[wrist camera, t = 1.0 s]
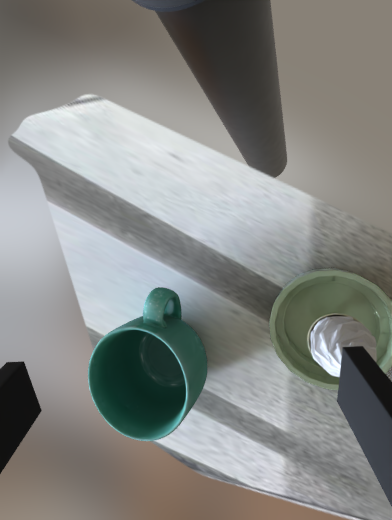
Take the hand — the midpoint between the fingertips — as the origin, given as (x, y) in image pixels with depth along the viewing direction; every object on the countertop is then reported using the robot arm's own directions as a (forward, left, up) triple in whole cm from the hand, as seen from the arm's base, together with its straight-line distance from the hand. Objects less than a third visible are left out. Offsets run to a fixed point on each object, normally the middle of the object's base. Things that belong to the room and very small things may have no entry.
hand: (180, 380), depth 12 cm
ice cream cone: (+1, +8, -24) cm, 26 cm away
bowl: (+1, +8, -25) cm, 26 cm away
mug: (+9, -9, -25) cm, 28 cm away
